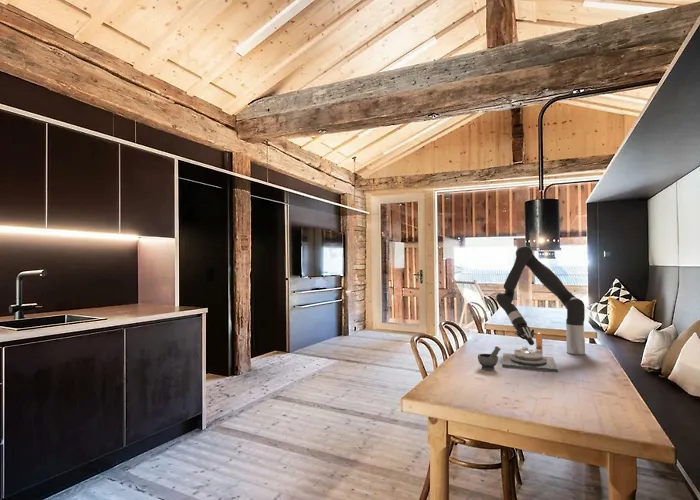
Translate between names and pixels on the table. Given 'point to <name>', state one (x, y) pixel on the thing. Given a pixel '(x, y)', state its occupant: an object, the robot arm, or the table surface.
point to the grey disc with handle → (531, 351)
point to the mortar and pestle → (489, 359)
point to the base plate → (531, 367)
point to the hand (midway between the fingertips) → (532, 344)
